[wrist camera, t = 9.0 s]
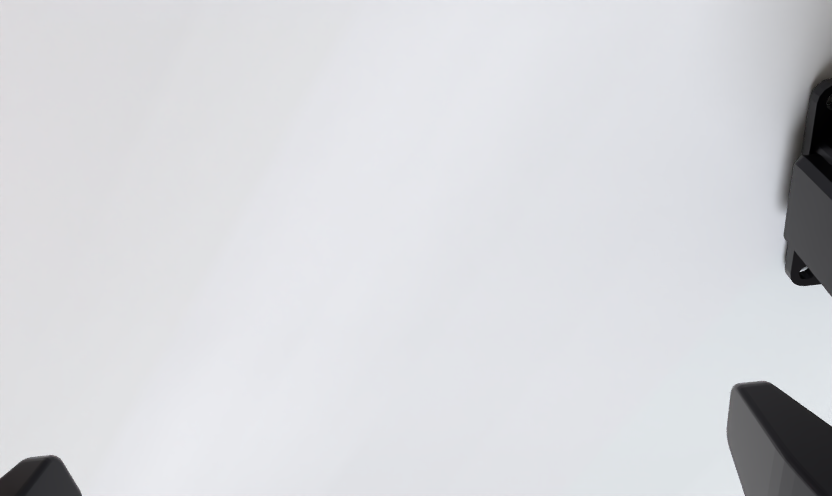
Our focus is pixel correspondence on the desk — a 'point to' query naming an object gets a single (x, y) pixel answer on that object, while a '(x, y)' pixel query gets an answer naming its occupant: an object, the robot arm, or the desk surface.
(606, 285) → the desk surface
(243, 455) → the desk surface
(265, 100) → the desk surface
